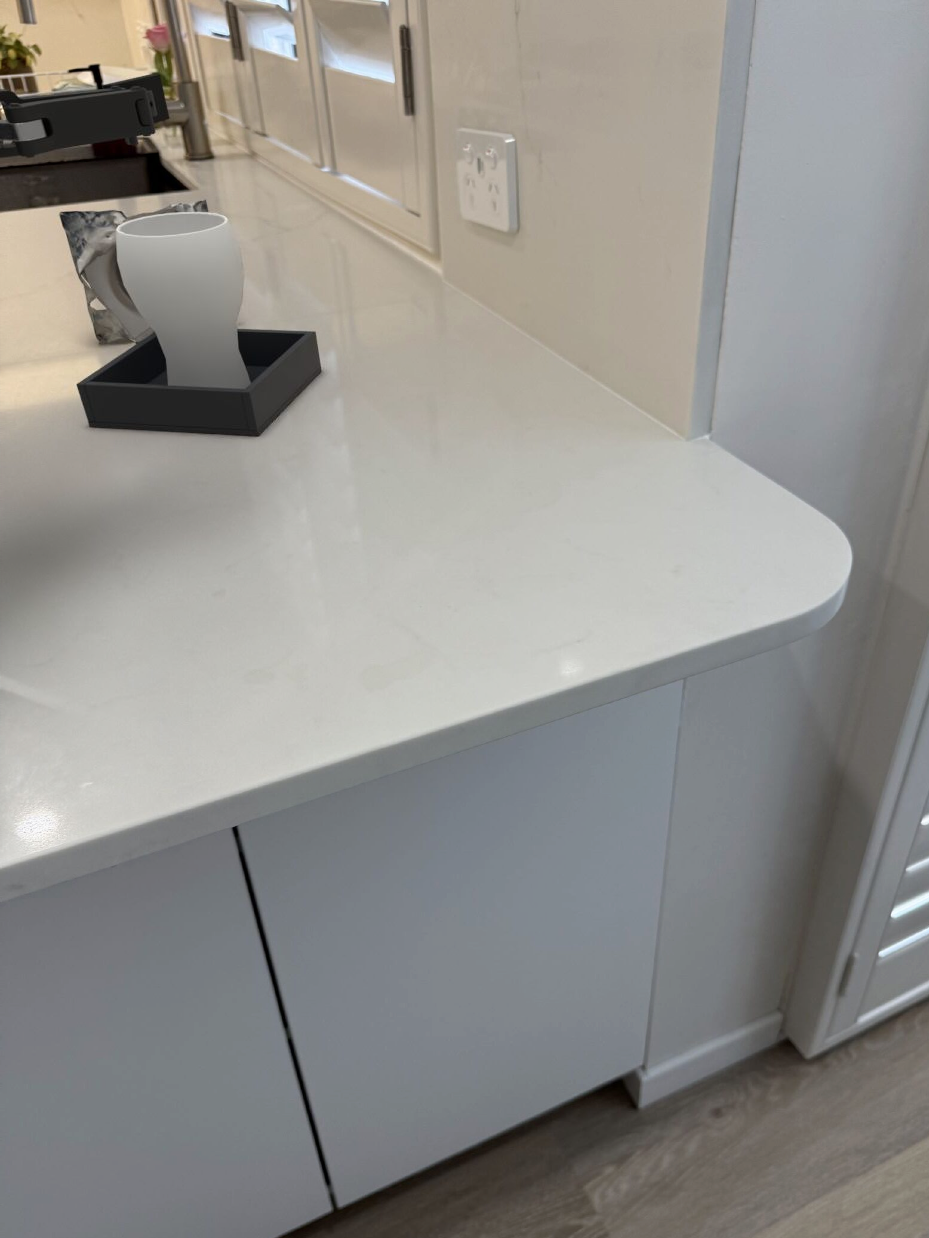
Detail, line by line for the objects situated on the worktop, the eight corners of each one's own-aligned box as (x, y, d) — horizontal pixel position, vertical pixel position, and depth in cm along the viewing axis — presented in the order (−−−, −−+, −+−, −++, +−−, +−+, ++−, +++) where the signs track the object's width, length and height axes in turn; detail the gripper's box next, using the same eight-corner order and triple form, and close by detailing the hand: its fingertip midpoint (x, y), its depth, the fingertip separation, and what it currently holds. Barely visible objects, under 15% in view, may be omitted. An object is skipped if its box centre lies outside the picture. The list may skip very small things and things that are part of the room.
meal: (227, 318, 112) (202, 196, 104) (235, 328, 109) (209, 203, 100) (95, 338, 107) (58, 211, 99) (99, 349, 104) (61, 219, 96)
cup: (205, 367, 97) (168, 207, 88) (288, 381, 93) (259, 215, 84) (130, 403, 89) (81, 232, 80) (218, 420, 86) (177, 242, 76)
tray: (89, 426, 87) (75, 384, 84) (172, 364, 99) (163, 325, 97) (258, 436, 84) (249, 392, 81) (321, 371, 97) (315, 331, 94)
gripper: (-291, 217, 56) (-59, 155, 72) (90, 224, 52) (245, 157, 68) (-368, 67, 51) (-101, 36, 68) (45, 62, 47) (222, 31, 64)
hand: (73, 97), depth 68 cm, fingers open, 13 cm apart
